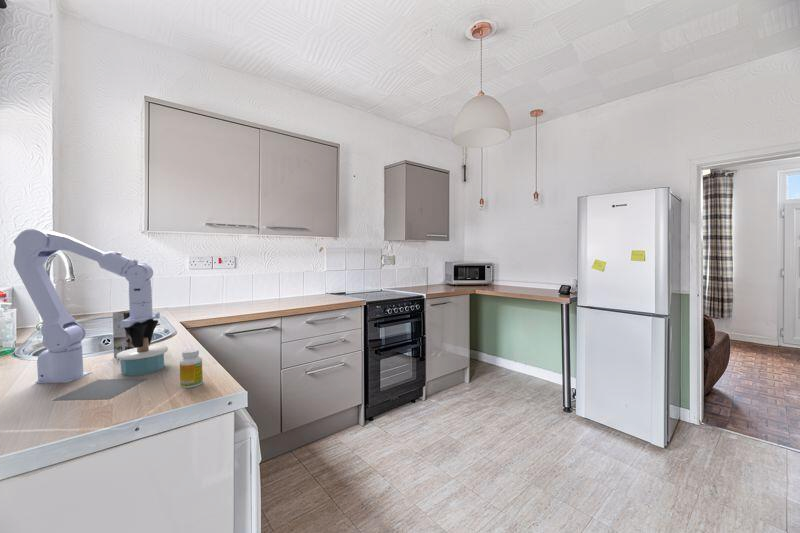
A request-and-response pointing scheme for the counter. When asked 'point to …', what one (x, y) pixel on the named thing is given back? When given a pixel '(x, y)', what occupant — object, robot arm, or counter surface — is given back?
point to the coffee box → (121, 333)
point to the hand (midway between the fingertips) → (142, 345)
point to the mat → (101, 389)
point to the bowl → (142, 365)
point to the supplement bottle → (191, 369)
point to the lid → (142, 351)
